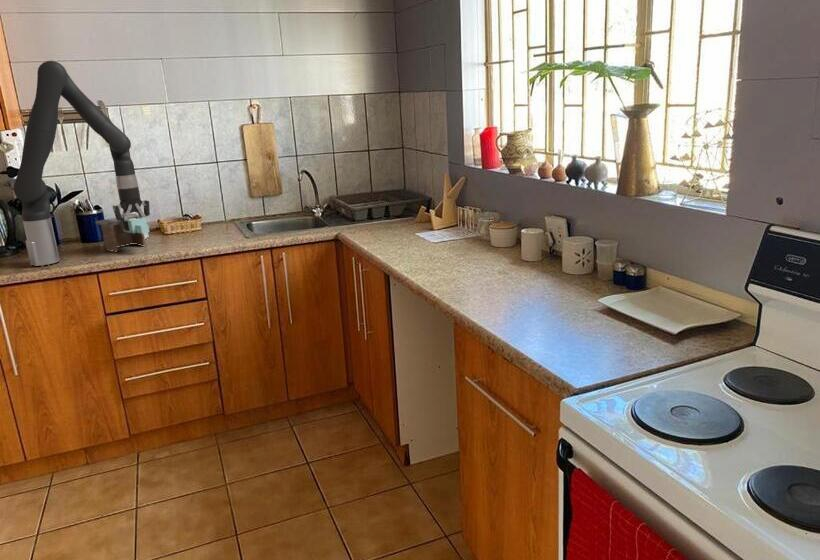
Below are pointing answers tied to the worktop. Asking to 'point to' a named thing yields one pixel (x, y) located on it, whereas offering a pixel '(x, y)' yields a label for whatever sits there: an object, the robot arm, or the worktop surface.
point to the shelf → (118, 234)
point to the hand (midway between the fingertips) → (135, 228)
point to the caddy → (137, 225)
